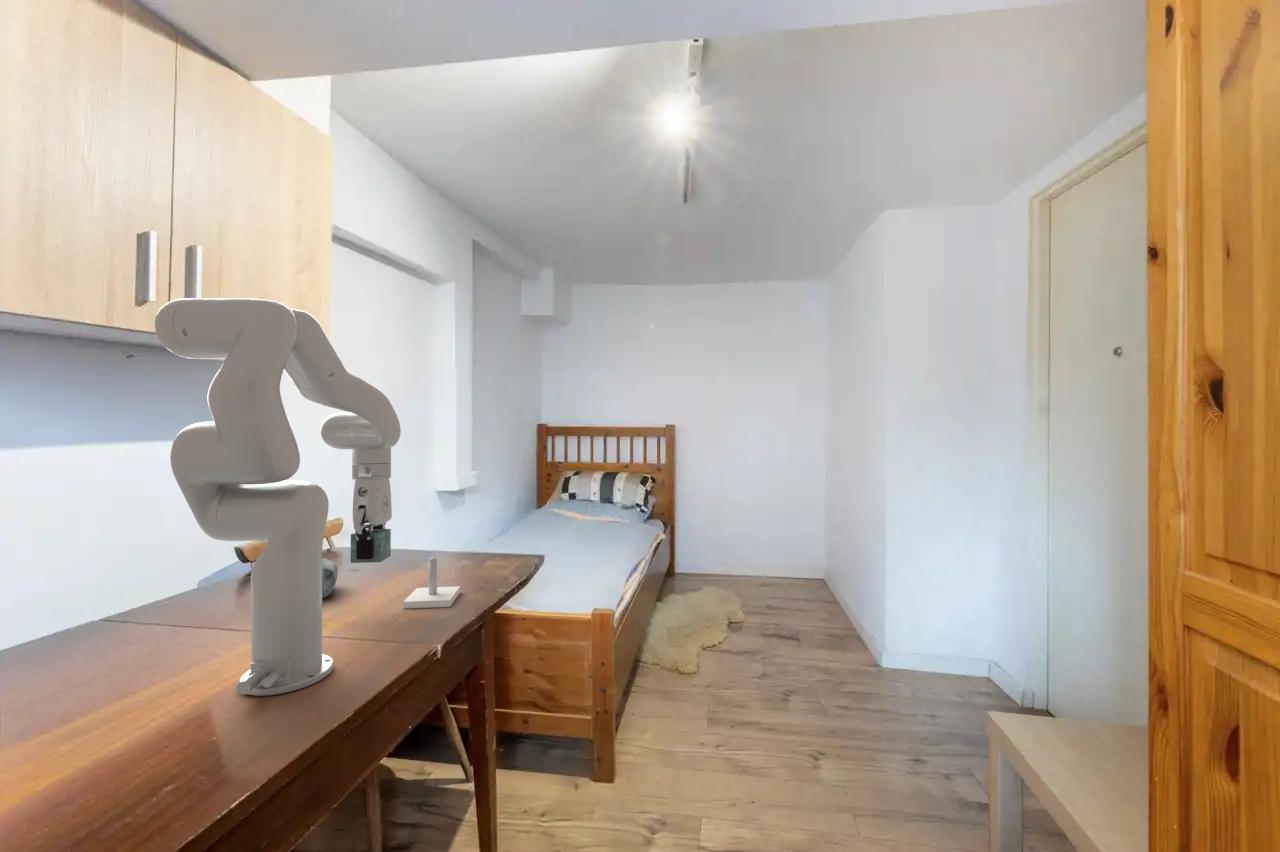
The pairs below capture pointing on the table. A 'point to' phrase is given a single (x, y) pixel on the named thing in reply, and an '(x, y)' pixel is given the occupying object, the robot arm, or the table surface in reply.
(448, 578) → the table surface
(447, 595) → the white peg stand
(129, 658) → the table surface
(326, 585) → the spool
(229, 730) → the table surface
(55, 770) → the table surface
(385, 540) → the bead
